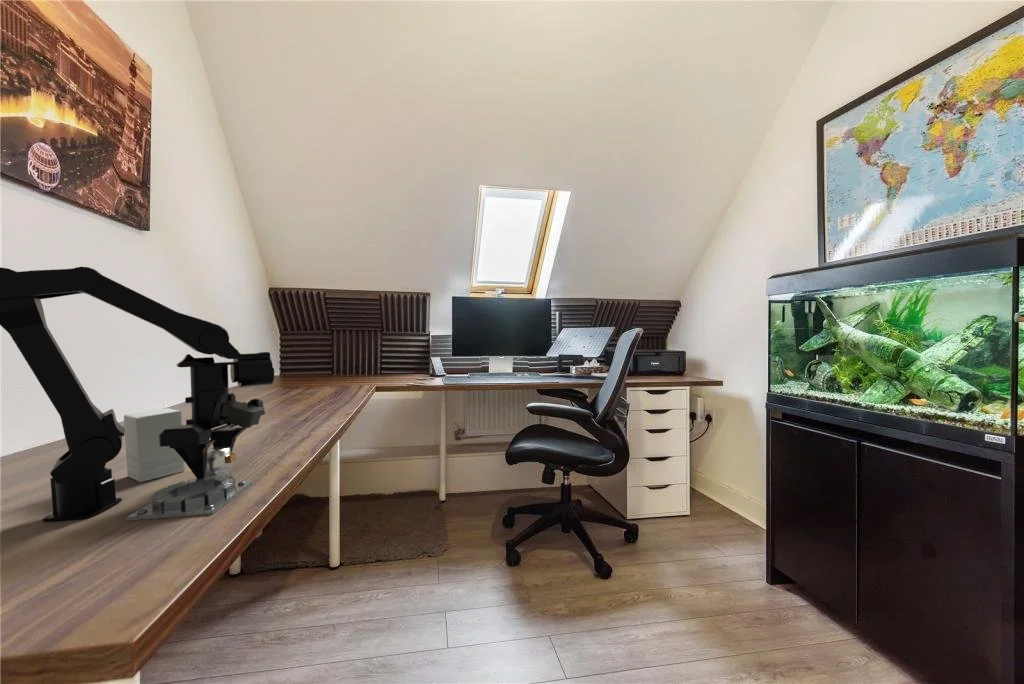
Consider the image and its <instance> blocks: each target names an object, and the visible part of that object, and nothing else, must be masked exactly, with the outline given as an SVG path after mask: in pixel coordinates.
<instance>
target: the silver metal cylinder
mask: <svg viewBox="0 0 1024 684" xmlns="http://www.w3.org/2000/svg"><path fill="white" fill-rule="evenodd" d="M235 461H237V453H236V452H232V453H230V447H229V446H219V447H213V446H212V447H209V448H208V450H207V462H206V472H205V478H206V477H208V476H221V475H222V476H230V477H233V476H232V464H233V462H235Z"/></svg>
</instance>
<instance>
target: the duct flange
mask: <svg viewBox="0 0 1024 684" xmlns="http://www.w3.org/2000/svg"><path fill="white" fill-rule="evenodd" d="M252 485H253V480H251V481H250V480H247V481H245V480H241V481H236V478H235V477H234V476H232V477H230V476H222V475H221V476H208V477H206V478H205V477H204V478H199V479H197V478H196V477H195V478H192V479H187V481H185V480H182V481H180V482H177V483H174V484H171V485H168V486H167V487H164V488H162V489H161V488H160V490H158V491H156V492H154V493H153V494H152V495H151V500H150V503H149V504H147V505H145V506H144V507H142V508H141V509H139V510H137V511H135V512H134V513H131V514H130V515H128V516H127V518H126V519H127V521H140V520H152V519H155V520H156V519H166V518H168V519H169V518H181V517H182V518H183V517H193V516H204V515H205V516H207V515H214V514H215V513H217V512H218V511H219V510H220V509H222V508H223V507H225V506H226V505H227V504H228V503H230V502H231V501H232V500H233V499H235V498H237V496H239V495H240V494H241V493H243V492H244V491H245V490H247V489H248V488H249V487H251V486H252Z"/></svg>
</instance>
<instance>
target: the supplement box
mask: <svg viewBox="0 0 1024 684" xmlns="http://www.w3.org/2000/svg"><path fill="white" fill-rule="evenodd" d="M182 415H183V414H182V411H181V410H178V409H173V408H169V407H167V408H159V409H153V410H146V411H139V412H135V413H128V414H124V415H123V427H124V428H125V432H124V439H125V440H124V442H125V443H124V444H125V457H126V459H125V460H126V472H127V477H128V478H131V479H133V480H135V481H136V482H139V483H143V482H147V481H151V480H155V479H159V478H163V477H167V476H170V475H171V476H172V475H174V474H179V473H183V472H184V471H185V470H186V463H185V461H184V460H183V459H182V458H181V456H180V455H179V454H178V453H177V452H176V451H175V450H174V448H170V447H169V446H164V447H160V446H159V435H160V434H161V433H162V432H163V431H164V430H165V429H168V428H171V427H175V426H178V425H183V419H182V418H183V417H182Z"/></svg>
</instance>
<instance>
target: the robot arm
mask: <svg viewBox="0 0 1024 684" xmlns="http://www.w3.org/2000/svg"><path fill="white" fill-rule="evenodd" d="M81 294H85V295H88V296H89V297H92V298H94V299H97V300H99V301H101V302H103V303H106V304H108V305H110V306H112V307H114V308H116V309H119V310H121V311H123V312H125V313H127V314H129V315H132V316H133V317H136V318H138V319H140V320H142V321H145V322H147V323H149V324H151V325H154V326H156V327H157V328H159V329H162V330H164V332H166V333H168V334H170V335H171V336H173V337H174V338H175V339H177V340H178V341H180V342H181V343H183V344H184V345H186V346H187V347H189V348H191V349H192V350H193V351H195V352H197V353H200V354H203V355H216V356H218V357H220V358H223V359H227V360H232V361H224V362H222V361H221V362H215V358H214V357H213V356H211V357H210V356H209V357H194V356H193V355H191V354H190V353H188V354H185V356H184V358H183V359H182V360H181V361H180V362H177V363H176V367H177V368H190V369H189V371H190V372H189V373H190V375H189V376H190V396H187V397H184V398H185V401H184V402H185V404H191V407H190V408H191V418H190V419H186V420H185V423H186V424H182V425H178V426H175V427H171V428H168V429H165V430H164V431H163V432H162V433H161V434H160V435H159V446H160V447H164V446H169V447H170V448H174V450H175V451H176V452H177V453H178V454H179V455H180V456H181V458H182V459H183V460H184V461H185V465H187V467H188V469H190V471H191V473H192V474H193V475H194V477H195V479H196V478H197V479H199V478H204V477H205V472H206V462H207V450H208V448H211V446H212V448H213V447H219V446H229V447H230V453H233V449H234V447H235V443H236V441H237V438H238V437H239V436H240V435H241V434H242V433H243V432H244V431H246V430H247V429H250V428H252V426H257V425H259V422H260V420H261V417H262V416H265V414H266V411H265V407H264V402H263V401H264V400H263V399H259V398H251V399H250V400H249V401H248V402H246V401H243V402H241V401H237V400H236V394H235V393H234V392H230V390H229V370H228V369H229V366H230V380H231V383H237V387H239V388H246V387H247V388H248V387H257V386H268V385H270V386H271V385H273V383H274V379H275V368H274V365H273V361H272V358H271V352H270V351H260V352H255V353H240V352H239V349H237V348H236V347H235V346H234V345H233V344H232V343H231V342H230V335H229V333H228V331H227V329H225V328H224V327H223V326H221V325H219V324H217V323H214V322H210V321H207V320H204V319H201V318H198V317H194V316H191V315H188V314H185V313H181V312H179V311H176V310H174V309H172V308H170V307H168V306H166V305H164V304H161V303H159V302H157V301H155V300H154V299H152V298H150V297H147V296H146V295H144V294H142V293H139V292H138V291H136V290H134V289H132V288H130V287H127V286H125V285H123V284H121V283H119V282H117V281H115V280H113V279H111V278H109V277H107V276H105V275H103V274H101V272H99V271H98V270H96V269H95V268H92V267H88V266H78V267H74V268H62V269H59V268H58V269H38V270H36V269H35V270H23V271H16V270H13V269H10V268H8V267H0V327H2V328H3V329H4V331H6V333H8V334H9V336H10V337H11V339H12V340H13V342H14V343H15V345H16V347H17V348H18V350H19V352H20V353H21V355H22V357H23V359H24V360H25V361H26V363H27V365H28V367H29V368H30V369H31V372H32V373H33V375H34V376H35V377H36V379H37V381H38V383H39V384H40V386H41V388H42V389H43V391H44V393H45V394H46V396H47V397H48V399H49V401H50V402H51V404H52V405H53V407H54V408H55V410H56V412H57V414H58V415H59V417H60V420H61V424H62V429H63V434H64V438H65V441H66V445H67V448H68V450H67V451H66V452H65V453H63V454H62V455H61V456H60V457H58V459H57V460H56V461H55V464H54V466H53V467H52V469H51V471H50V476H51V478H50V492H51V494H50V495H51V502H52V503H51V505H52V506H51V508H52V513H51V514H48V515H45V516H44V517H42V522H52V521H64V520H65V521H66V520H75V519H76V520H77V519H87V518H91V517H93V516H95V515H97V514H98V513H101V512H102V511H104V510H107V509H108V508H111V507H112V506H115V505H116V504H119V503H120V502H122V500H123V499H122V497H117V495H116V480H115V478H114V477H113V471H112V469H113V468H107V467H106V465H107V463H109V462H110V461H112V460H114V459H115V458H116V457H117V456H118V455H119V454H120V452H121V450H122V446H123V445H122V444H123V437H125V428H124V425H123V426H122V425H121V424H120V423H119V422H118V420H117V418H116V414H115V411H114V409H113V408H111V409H109V410H107V411H105V412H102V411H101V409H99V408H98V407H97V406H96V405H95V404H94V403H93V402H92V400H91V397H90V396H89V395H88V394H87V391H86V390H85V388H84V387H83V384H81V382H80V379H79V378H78V376H77V374H76V372H75V371H74V369H73V368H72V366H71V365H70V363H69V361H68V359H67V358H66V356H65V354H64V353H63V350H62V349H61V348H60V346H59V343H58V342H57V340H56V339H55V336H53V334H52V332H51V331H50V330H51V329H49V326H48V324H47V321H46V320H47V319H46V316H45V312H44V307H43V303H42V300H44V299H52V298H59V297H65V296H73V295H81Z"/></svg>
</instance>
